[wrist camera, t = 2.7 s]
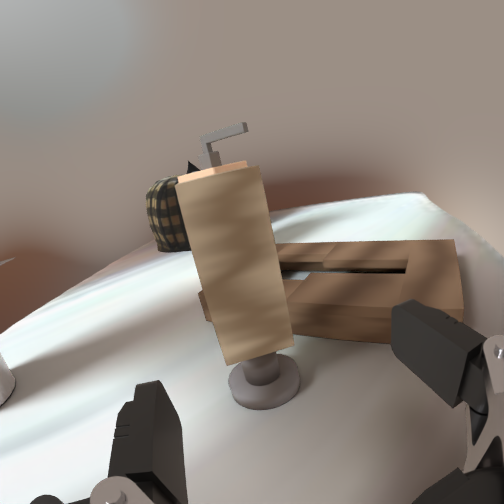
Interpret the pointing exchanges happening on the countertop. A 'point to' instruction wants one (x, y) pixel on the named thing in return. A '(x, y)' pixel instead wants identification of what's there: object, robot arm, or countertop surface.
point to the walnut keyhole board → (365, 285)
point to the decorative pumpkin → (167, 214)
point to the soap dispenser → (215, 153)
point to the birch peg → (242, 282)
